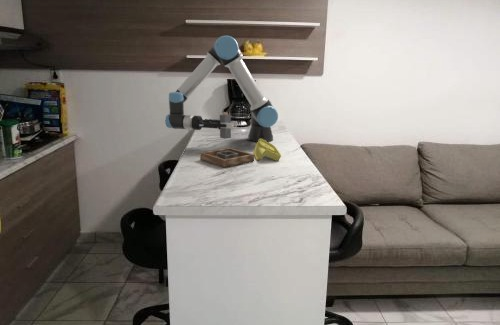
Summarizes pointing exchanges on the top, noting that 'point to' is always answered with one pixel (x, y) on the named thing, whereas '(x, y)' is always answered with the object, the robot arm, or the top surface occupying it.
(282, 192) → the top surface
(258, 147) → the plastic component
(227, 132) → the grey tall block
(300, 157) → the top surface
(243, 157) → the box
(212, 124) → the robot arm
